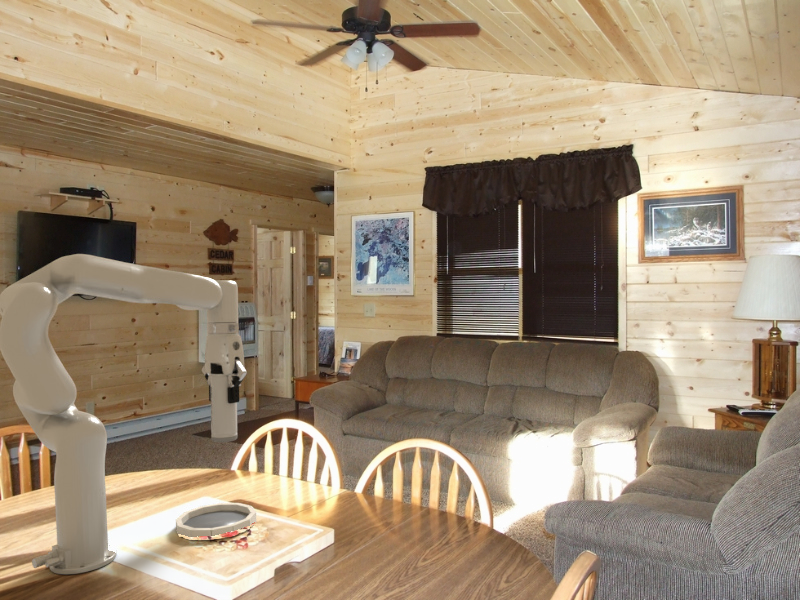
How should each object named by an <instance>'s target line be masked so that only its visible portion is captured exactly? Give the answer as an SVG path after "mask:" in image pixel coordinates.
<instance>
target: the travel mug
mask: <svg viewBox="0 0 800 600" xmlns="http://www.w3.org/2000/svg"><path fill="white" fill-rule="evenodd" d="M210 367H211V373H210V375H211V377H210V382H211V401H210V425H211V426H210V427H211V428H210V432H211V436H210V437H211V438H210V439H211V441H212V442H215V443H229V442H234V441H236V440H237V439H238V402H236V403H231V404H230V403H228V387H230V386H229V383H228V380H227V376H225V375H224V374H223V371H222V365H217V364H212V363H210ZM232 372H233V373H232V374H234V373H235V372H234V371H232ZM232 379H233V380H234V377H232Z"/></svg>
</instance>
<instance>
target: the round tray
mask: <svg viewBox="0 0 800 600" xmlns="http://www.w3.org/2000/svg"><path fill="white" fill-rule="evenodd" d="M254 522H256V523H257V511H256V510H255V508H254V507H253V506H252V505H251V504H250V505H249V504H245V503H241V502H219V503H213V504H207V505H202V506H198V507H195V508H193V509H191V510H190V509H189V510H187V511H185V512H183V513H182V514H181V515H179V516H178V517H176V519H175V529H176V528H177V531H176V533H177V532H178V534H181V535H185V536H188V537H197V536H198V537H199V536H215V535H219V534H223V533H226V532H231V531H235V530H238V529H241V528H244V527H247V526H250V525H251V524H252V523H254Z"/></svg>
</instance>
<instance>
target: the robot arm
mask: <svg viewBox="0 0 800 600" xmlns="http://www.w3.org/2000/svg"><path fill="white" fill-rule="evenodd" d="M238 289H239V288H238V284H237V282H236V281H234V280H229V279H227V280H226V279H224V280H223V279H221V280H218V279H217V280H215V279H212V278H210V277H206V276H201V275H197V274H192V273H187V272H183V271H176V270H175V271H174V270H169V269H162V268H158V267H154V266H146V265H140V264H136V263H130V262H124V261H122V260H121V261H119V260H115V259H111V258H105V257H102V256H96V255H92V254H87V253H86V254H84V253H76V254H71V255H69V254H68V255H65V256H61V257H59V258H57V259H55V260H53V261H51V262H50V263H47V264H46V265H44V266H42V267H41V268H39V269H37V270H36V271H33V272H31V274H29V275H27V276H25V277H23V278H21V279H19V280H18V281H16V282H14V283H12V284H10V285H9V286H7V287H6V288H4V289H3V291H2V292H1V293H0V316H1V320H0V353H1V355H2V358H3V359H4V360H3V361H5V364H6V365H7V366H8V368H9V370H10V372H11V374H12V376H13V378H14V379H15V381H14V383H13V387H12V393H13V394H12V395H13V398H14V401H15V403H16V405H17V407H18V410H20V412H21V414H22V415H23V417H24V419H25V420H26V421H27V424H28V425H29V426H30V427H31V429H32V431H33V433H34V435H36V436H37V439H38V440H39V441H40V442H41V444H42V445H43V446H44V447H46V449H48V450H50V451H51V452H52V451H53V452H54V453H56V454H55V455H56V457H55V465H54V477H53V479H54V480H53V486H54V487H53V488H54V501H55V502H54V503H55V505H54V507H55V521H56V522H55V524H56V526H55V528H56V544H54V545H52V546H51V550H50V551H48V553H47V554H44V555H39V556H37V557H34V558H33V559H32V560H31V564H32V567H33V568H34V569H36V568H40V567H42V566H45V567H46V568H49V570H50V571H51V573H55V574H56V575H57V574H58V575H78V574H83V573H87V572H91V571H94V570H98V569H100V568H102V567H104V566H107V565H108V564H110V563H112V562H113V561H114V560H115V559H116V558H117V552H116V553H115V552H113V551H109V550H108V545H109V539H108V538H109V537H108V536H109V535H108V513H107V493H106V491H107V487H106V473H105V472H106V471H105V469H106V468H105V467H106V465H105V464H106V452H107V444H108V434H107V430H106V427H105V425H104V423H103V422H102V420H101V419H99V418H98V417H97V416H96V415H94V414H91V413H90V412H85V411H81V410H79V409H78V408H77V406H76V405H75V402H76V399H77V395H78V393H77V390H78V389H77V386H76V384H75V382H74V380H73V378H72V377H71V376H70V374H69V372H68V371H67V369H66V368H65V366H64V365H63V363H62V361H61V360H60V358H59V356H58V355H57V353H56V351H55V349H54V347H53V345H52V342H51V341H50V340H51V339H50V338H49V329H50V328H49V327H50V323H51V321H52V319H53V318H54V316H55V314H56V312H57V311H58V306H59V305H60V304H62V303H63V302H64V301H66V300H68V299H70V297H72V296H73V295H78V294H79V295H87V296H93V297H99V298H103V299H111V300H116V301H122V302H128V303H137V304H165V305H167V304H168V305H169V304H170V305H175V306H177V307H178V308H180V309H181V310H185V311H206V321H207V322H206V323H207V324H206V326H207V327H206V328H207V333H206V335H207V336H206V341H205V347H204V349H205V350H204V365H203V366H202V368H201V372H202V374H203V376H204V378H205V380H206V381H207V382H206V385H208V400H209V402H211V382H210V377H211V375H210V373H211V367H210V363H212V364H217V365H222V371H223V374H224V375H225V376H227V380H228V383H229V386H230V387H228V403H230V404H231V403H236V402H237V403H239V402H240V387H241V386H242V382H243V381H244V378H245V377H246V375H247V374H248V372H247V370H246V368H245V356H244V346H243V342H242V341H243V340H242V336H241V334H239V330H240V326H239V290H238ZM232 371H234V372H235V373H234V374H232V373H233V372H232ZM232 377H234V380H233V379H232Z"/></svg>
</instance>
